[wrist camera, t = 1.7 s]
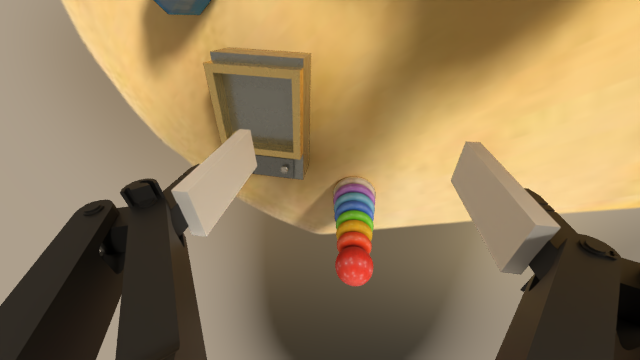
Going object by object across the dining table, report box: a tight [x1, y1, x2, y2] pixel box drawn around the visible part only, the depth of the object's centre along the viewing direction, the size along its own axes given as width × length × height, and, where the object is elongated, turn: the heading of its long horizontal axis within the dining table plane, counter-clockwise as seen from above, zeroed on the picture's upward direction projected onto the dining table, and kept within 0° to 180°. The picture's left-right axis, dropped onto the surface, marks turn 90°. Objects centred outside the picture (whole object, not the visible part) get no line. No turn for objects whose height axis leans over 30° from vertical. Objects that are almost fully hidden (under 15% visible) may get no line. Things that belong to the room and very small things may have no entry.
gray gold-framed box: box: [203, 48, 311, 180], centre depth 35 cm, size 18×12×7 cm, turn 177°
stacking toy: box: [333, 177, 376, 286], centre depth 37 cm, size 8×8×19 cm
